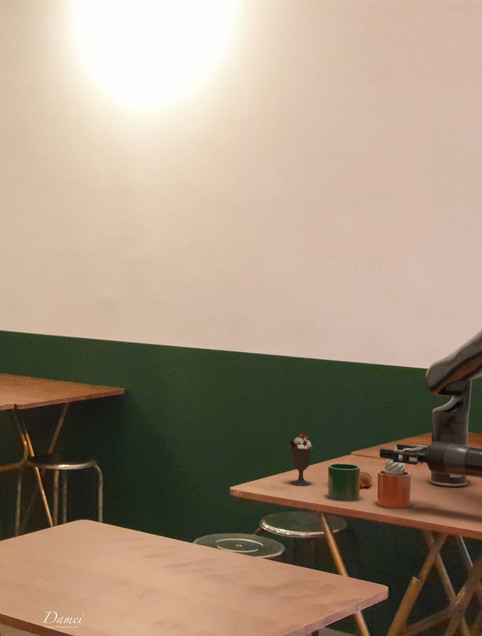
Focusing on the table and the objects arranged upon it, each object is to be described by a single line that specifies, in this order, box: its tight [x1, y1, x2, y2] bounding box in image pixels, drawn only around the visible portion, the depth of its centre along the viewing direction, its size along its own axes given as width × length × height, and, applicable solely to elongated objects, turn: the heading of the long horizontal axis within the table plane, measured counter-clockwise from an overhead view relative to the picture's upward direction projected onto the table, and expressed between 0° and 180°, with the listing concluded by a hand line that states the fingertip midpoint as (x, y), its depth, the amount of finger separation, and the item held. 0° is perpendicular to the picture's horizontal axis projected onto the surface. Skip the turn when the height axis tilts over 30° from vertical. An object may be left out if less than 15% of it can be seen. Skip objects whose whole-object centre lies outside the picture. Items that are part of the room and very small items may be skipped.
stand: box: [327, 463, 361, 502], centre depth 280 cm, size 8×8×8 cm
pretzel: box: [360, 471, 373, 488], centre depth 294 cm, size 12×11×4 cm
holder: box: [376, 469, 412, 509], centre depth 272 cm, size 8×8×8 cm
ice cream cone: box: [383, 443, 406, 476], centre depth 272 cm, size 5×5×15 cm
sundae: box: [288, 427, 315, 486], centre depth 296 cm, size 7×7×15 cm
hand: (388, 450), depth 273 cm, fingers open, 8 cm apart
